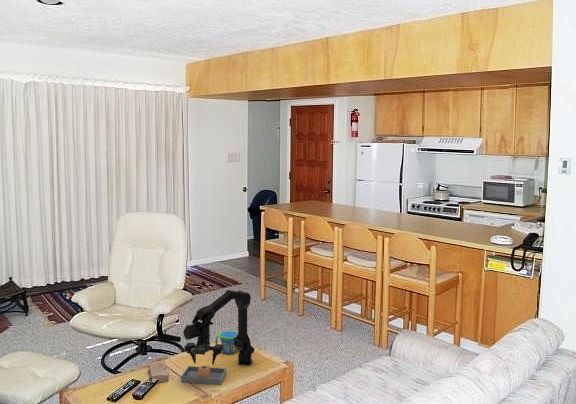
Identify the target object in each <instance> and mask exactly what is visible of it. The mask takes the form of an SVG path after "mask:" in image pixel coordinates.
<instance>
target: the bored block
mask: <svg viewBox="0 0 576 404" xmlns="http://www.w3.org/2000/svg"><path fill="white" fill-rule="evenodd" d="M198 367H199V369H198V377H206V378H209V377H210V367H211V365H208V364H207V365H205V364H200V366H198Z"/></svg>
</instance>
